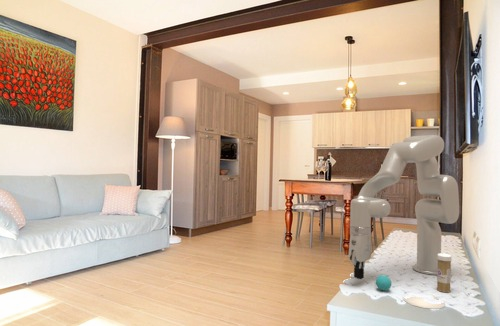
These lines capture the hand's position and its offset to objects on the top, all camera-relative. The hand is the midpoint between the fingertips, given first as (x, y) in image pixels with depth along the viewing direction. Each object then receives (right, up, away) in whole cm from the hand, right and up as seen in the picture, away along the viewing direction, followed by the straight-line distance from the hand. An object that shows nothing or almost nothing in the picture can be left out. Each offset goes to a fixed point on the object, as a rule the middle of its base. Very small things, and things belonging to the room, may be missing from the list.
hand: (358, 277), depth 137 cm
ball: (+7, 0, -6) cm, 10 cm away
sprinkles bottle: (+30, -3, -6) cm, 30 cm away
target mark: (+17, -3, -16) cm, 24 cm away
